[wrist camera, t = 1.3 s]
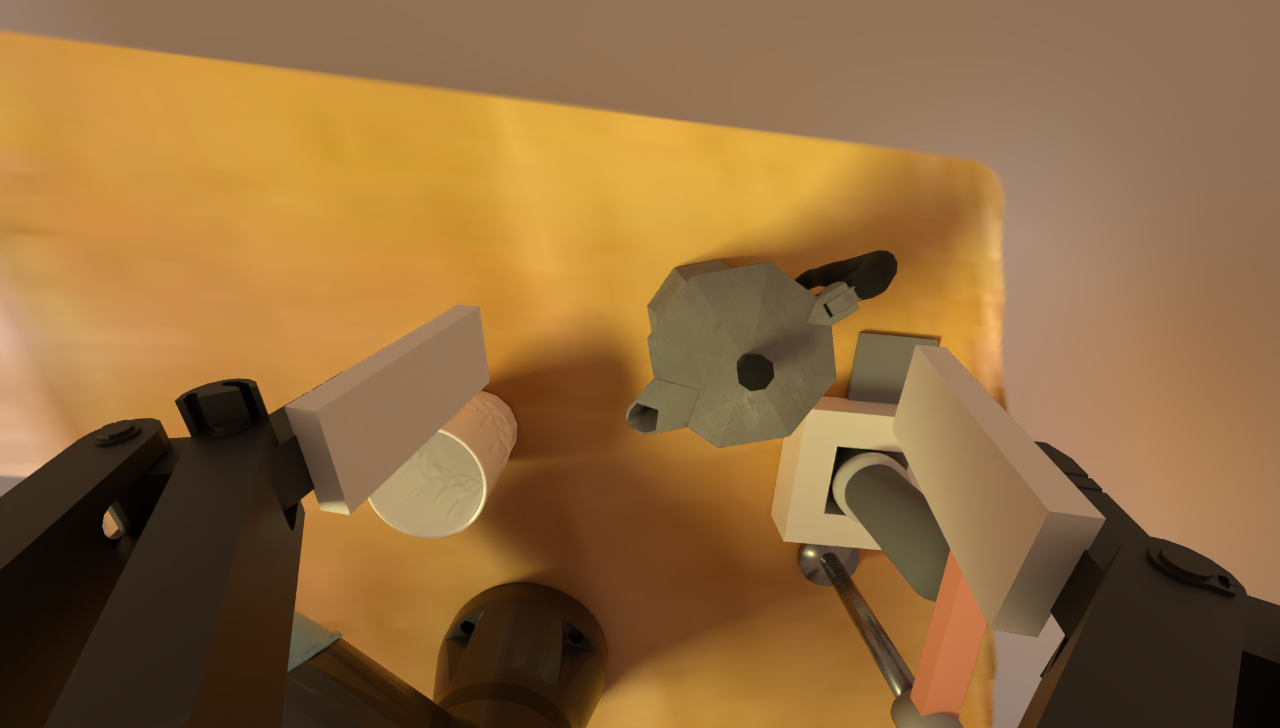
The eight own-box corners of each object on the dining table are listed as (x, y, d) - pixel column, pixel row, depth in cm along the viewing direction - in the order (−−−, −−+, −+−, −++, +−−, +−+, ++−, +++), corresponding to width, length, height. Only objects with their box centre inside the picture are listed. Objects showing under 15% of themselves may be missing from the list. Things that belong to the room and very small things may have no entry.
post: (848, 582, 43) (948, 743, 29) (793, 577, 43) (866, 736, 29) (859, 532, 42) (968, 675, 28) (802, 527, 42) (883, 668, 28)
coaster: (917, 410, 39) (920, 412, 39) (844, 404, 39) (847, 406, 39) (934, 339, 38) (938, 340, 37) (859, 332, 38) (862, 333, 37)
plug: (870, 493, 41) (983, 613, 27) (808, 487, 41) (889, 605, 27) (883, 434, 40) (1008, 529, 26) (819, 428, 40) (910, 520, 26)
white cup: (432, 377, 39) (361, 418, 29) (528, 388, 39) (489, 433, 29) (430, 465, 41) (363, 532, 31) (522, 476, 41) (484, 545, 31)
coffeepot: (665, 409, 39) (682, 533, 22) (602, 313, 38) (564, 365, 20) (832, 307, 37) (997, 355, 20) (773, 201, 36) (897, 151, 18)
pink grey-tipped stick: (939, 733, 28) (960, 769, 26) (885, 729, 28) (903, 764, 26) (1014, 478, 25) (1046, 497, 23) (953, 472, 25) (979, 491, 23)
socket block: (895, 525, 42) (921, 553, 38) (770, 514, 42) (783, 541, 38) (924, 405, 39) (955, 422, 35) (791, 393, 39) (807, 408, 35)
